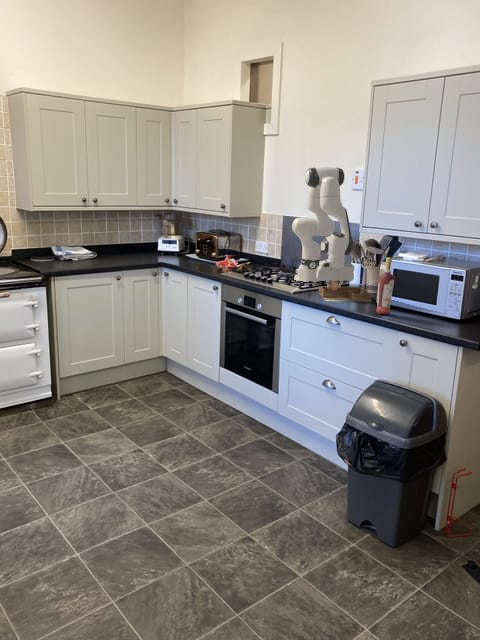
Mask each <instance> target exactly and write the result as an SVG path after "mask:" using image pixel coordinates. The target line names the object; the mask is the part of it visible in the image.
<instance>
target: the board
mask: <svg viewBox="0 0 480 640" xmlns="http://www.w3.org/2000/svg"><path fill="white" fill-rule="evenodd" d="M321 298H322V299H323V300H324V301H325V302H352V303H353V302H355V303H356V301H351V300H350V299H349V298H323V297H322V296H321ZM370 302H371V303H373V300H372V299H371V300H370ZM370 302H369V303H370Z"/></svg>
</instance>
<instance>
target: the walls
mask: <svg viewBox="0 0 480 640" xmlns="http://www.w3.org/2000/svg"><path fill="white" fill-rule="evenodd" d="M327 286H328V285H327ZM327 286H322V285H320V286H318V287H319V288H318V295H319V296H321V298H322V297H323V298H349V299H350V300H351V301H356V302H357V303H359V302H362V303H363V302H366V303H367V302H368V303H370V300H371V301H372V299H371V298H372V294H371V293H370V292H369V291H368V290H366V289H365V288H363V286H341V288H340V289H338V290H330V288H327ZM323 298H322V299H323ZM356 302H355V303H356Z"/></svg>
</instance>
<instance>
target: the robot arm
mask: <svg viewBox="0 0 480 640" xmlns="http://www.w3.org/2000/svg"><path fill="white" fill-rule="evenodd" d="M304 179H305V183H306V185H307V186H308V192H307V200H306V208H307V209H308V211H310V212H311V213H312V214H314V217H313V216H311V217H309V216H302V217H297V218H295V219H293V221H292V224H291V228H292V229H291V230H292V232H293V233H294V234H295V235H296V236H297V237H298V238H299V240H300V242H301V247H302V248H301V249H302V251H301V252H302V253H301V255H302V256H301V258H300V265H299V267H298V268H295V275H294V278H293V279H294V280H296V281H295V282H298V281H303V282H309V281H313V282H318V281H324V282H326V285H327V288H331V285H330V284H329V283H330V282H331V281H338V282H339V283H338V289H340V288H341V287H342V285H343V283H344V282H346V281H347V282H348V281H349V282H353V280H354V277H355V275H354V271H355V268H356V267H355V265H354V264H353V263H346V262H345V260H346V256H349V255H350V254H351V253H352V252H353V251H354V247H355V245H354V240H353V236H352V232H351V226H350V219H349V214H348V210H347V208H345V207H344V206H343V203H342V201H341V200H342V199H341V186H342V185H343V184H344V181H345V172H344V170H343V169H342V168H340V167H330V166H324V167H323V166H322V167H321V166H320V167H311V168H307V170H306V172H305V177H304ZM330 216H331V217H333V218H334V219H336V220H337V221H338V222H339V225H340V231H335V227H336V224H335V222H334V220H333V219H332V218H331V217H330ZM334 231H335V232H334ZM325 236H326V237H325ZM313 237H323V238H322V239H321V241H320V244H319V243H318V242H317V241H315V240H313ZM321 253H322V254H323V255H328V258H327V259H324V260H322V259H321ZM294 280H293V281H294ZM303 282H302V283H303Z"/></svg>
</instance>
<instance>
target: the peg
mask: <svg viewBox="0 0 480 640" xmlns="http://www.w3.org/2000/svg"><path fill="white" fill-rule="evenodd" d="M329 285H331V288H330V290H338V285H339V281H331V280H330V284H329Z"/></svg>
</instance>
